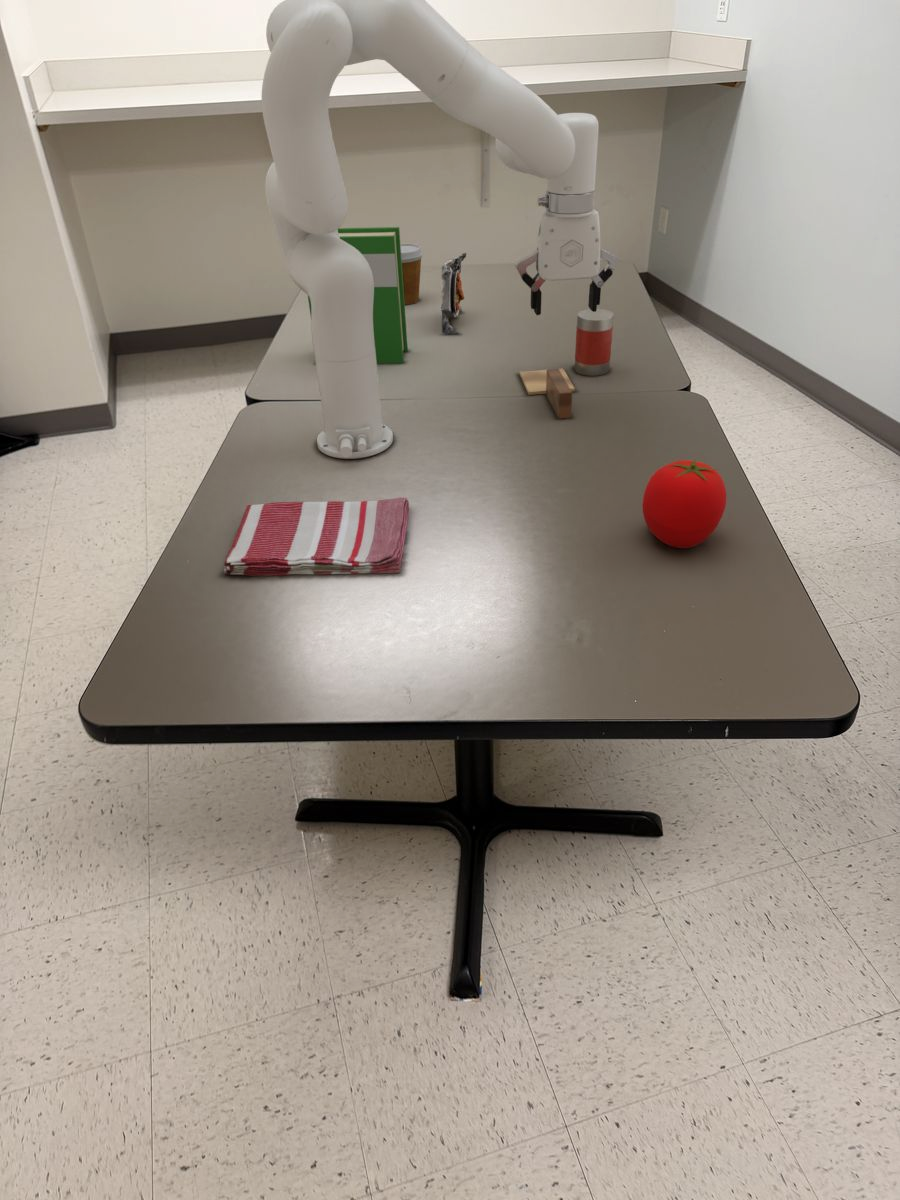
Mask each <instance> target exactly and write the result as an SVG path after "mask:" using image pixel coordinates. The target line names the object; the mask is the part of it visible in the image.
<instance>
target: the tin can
mask: <svg viewBox="0 0 900 1200" xmlns="http://www.w3.org/2000/svg"><path fill="white" fill-rule="evenodd" d="M613 329H614V312H612V311H611V310H608V309H604V308H603V309H602V308H597V310H596V312H593V311H591V309H590V308H586V309H582V310H581V311H579V312H578V313H577V317H576V332H575V348H574V350H575V352H574V371H575V372H576V373H577V374H579V375H581V376H587V377H595V376H597V377H598V376H603V375H606V374H607V373H608V372H609V371H610V364H611V355H612V341H613Z"/></svg>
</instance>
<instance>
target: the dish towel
mask: <svg viewBox="0 0 900 1200" xmlns="http://www.w3.org/2000/svg"><path fill="white" fill-rule="evenodd" d="M409 509H410V503H409V500H408V499H407V497H396V498H395V497H394V498H388V499H378V500H377V499H376V500H361V501H359V500H358V501H340V500H337V501H336V500H332V501H331V500H330V501H276V502H275V501H274V502H273V501H272V502H267V503H260V504H259V503H258V504H247V505H246V508H245V510H244V513H243V515H242V517H241V521H240V523H239V526H238V528H237V530H236V533H235V535H234V539H233V541H232V543H231V547H230V549H229V550H228V553H227V554H226V558H225V561H224V563H223V567H224V571H223V573H224V574H225V575H237V576H240V575H241V576H288V575H336V574H337V575H353V574H354V575H355V574H384V573H385V574H387V573H388V574H399V573H400V572H401V567H402V560H403V552H404V547H405V541H406V533H407V524H408V516H409Z"/></svg>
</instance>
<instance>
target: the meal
mask: <svg viewBox="0 0 900 1200" xmlns="http://www.w3.org/2000/svg"><path fill="white" fill-rule="evenodd" d="M466 257H467V252H464V253H462V254H461V255H458V256H456V257H455V258H450V259H448V260H447V261H445V262H444V265H442V266H441V279H442V286H443V287H442V290H441V301H442V302H441V305H440V311H441V333H442V334H444V335H459V332H458V331H457V329H454V328H453V326H452V325H450V321H449V319H455V318H457V317H458V316H459V314H460V313H463V308H462V306H461V301H463V300H465V294H464V290H463V286H462V285H463V283H462V280H461V273H462V262H463V261H464V260H465V259H466Z"/></svg>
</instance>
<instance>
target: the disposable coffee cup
mask: <svg viewBox="0 0 900 1200" xmlns="http://www.w3.org/2000/svg"><path fill="white" fill-rule="evenodd" d="M400 245H401V260H402V274H403V288H404V303H405V305H413V304H416V303H418V302H419V300H420V285H421V284H420V283H421V268H422V267H421V266H422V258H423V255H424V252H423V251H422V248H421V246H420V245H418V244H415V243H400Z"/></svg>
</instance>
